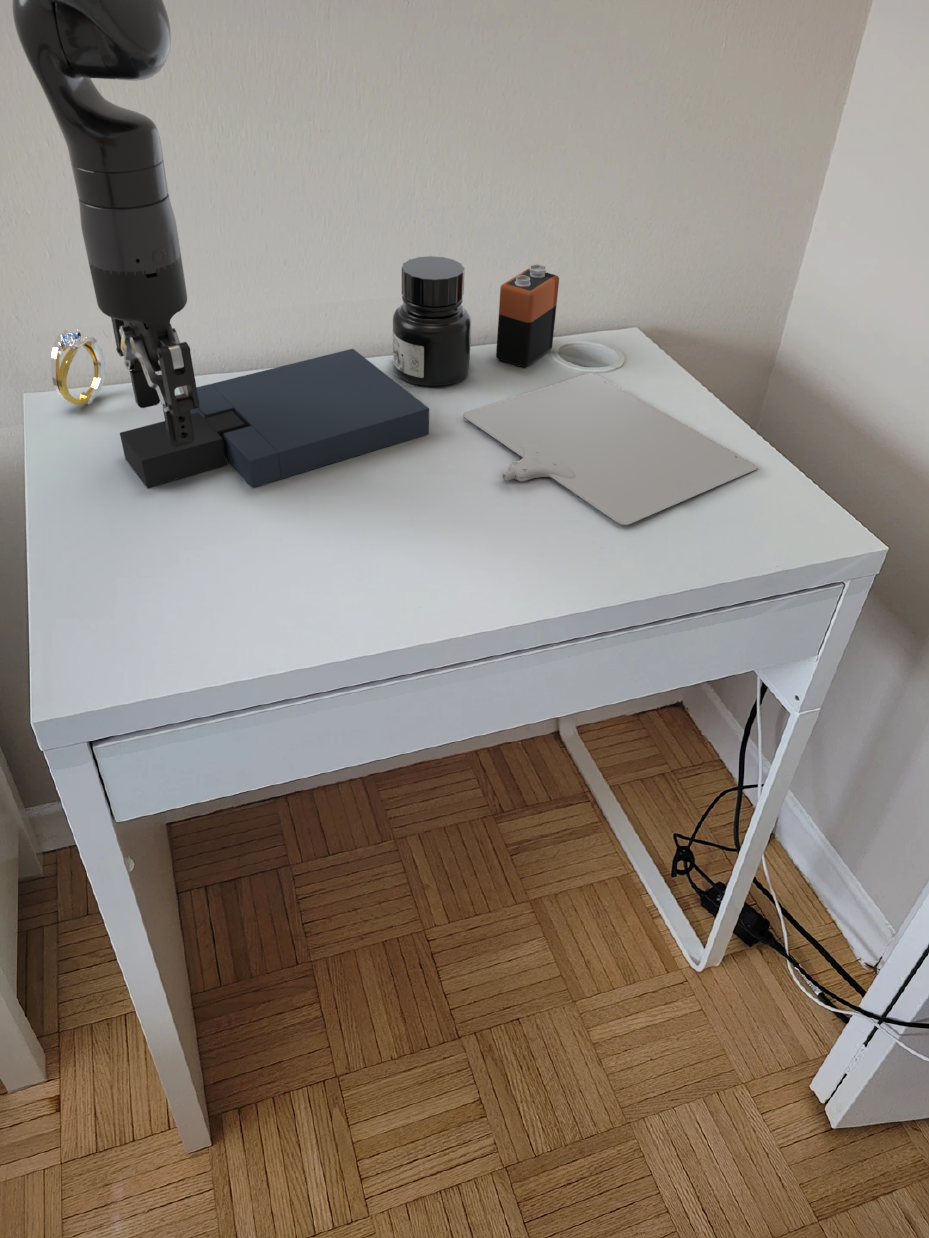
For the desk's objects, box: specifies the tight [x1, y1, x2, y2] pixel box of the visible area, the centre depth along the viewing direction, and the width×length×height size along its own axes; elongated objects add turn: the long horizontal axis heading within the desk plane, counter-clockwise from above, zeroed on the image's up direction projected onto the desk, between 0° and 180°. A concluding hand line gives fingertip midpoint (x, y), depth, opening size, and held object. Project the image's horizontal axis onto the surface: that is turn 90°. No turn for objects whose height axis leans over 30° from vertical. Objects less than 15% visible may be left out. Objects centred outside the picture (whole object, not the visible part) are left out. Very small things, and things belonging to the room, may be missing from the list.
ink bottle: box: [392, 255, 473, 387], centre depth 106 cm, size 10×9×12 cm
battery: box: [495, 263, 560, 368], centre depth 111 cm, size 4×7×10 cm, turn 147°
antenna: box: [462, 372, 758, 526], centre depth 98 cm, size 25×24×1 cm
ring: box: [50, 327, 106, 406], centre depth 99 cm, size 7×3×8 cm, turn 156°
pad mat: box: [190, 348, 430, 489], centre depth 99 cm, size 20×16×3 cm
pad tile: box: [119, 411, 245, 489], centre depth 93 cm, size 11×6×3 cm, turn 124°
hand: (165, 424), depth 90 cm, fingers open, 8 cm apart
